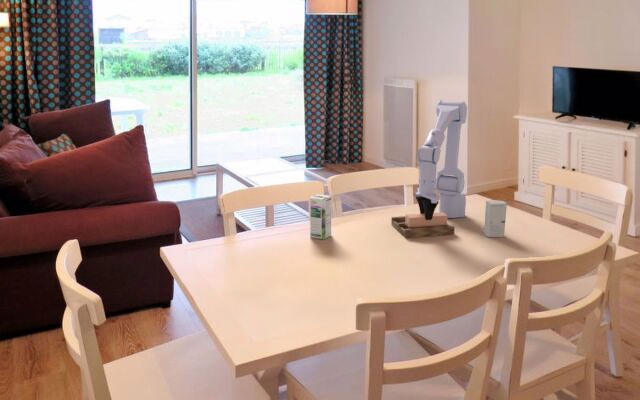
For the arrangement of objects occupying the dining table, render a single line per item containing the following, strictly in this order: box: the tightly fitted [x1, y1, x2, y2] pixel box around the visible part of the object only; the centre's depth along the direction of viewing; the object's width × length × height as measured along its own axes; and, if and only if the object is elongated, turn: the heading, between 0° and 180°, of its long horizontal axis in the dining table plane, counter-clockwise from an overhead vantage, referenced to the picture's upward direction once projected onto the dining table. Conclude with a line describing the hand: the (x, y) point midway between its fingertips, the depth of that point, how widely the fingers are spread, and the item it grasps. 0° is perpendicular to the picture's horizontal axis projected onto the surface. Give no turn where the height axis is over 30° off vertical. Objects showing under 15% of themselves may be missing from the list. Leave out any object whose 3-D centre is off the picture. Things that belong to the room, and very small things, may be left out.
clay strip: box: [405, 212, 448, 228], centre depth 230 cm, size 14×4×4 cm, turn 102°
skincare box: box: [483, 200, 508, 238], centre depth 227 cm, size 6×4×12 cm
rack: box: [391, 215, 455, 239], centre depth 235 cm, size 18×16×3 cm
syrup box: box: [309, 193, 332, 241], centre depth 227 cm, size 6×6×14 cm
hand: (426, 217), depth 230 cm, fingers closed on clay strip, 4 cm apart
